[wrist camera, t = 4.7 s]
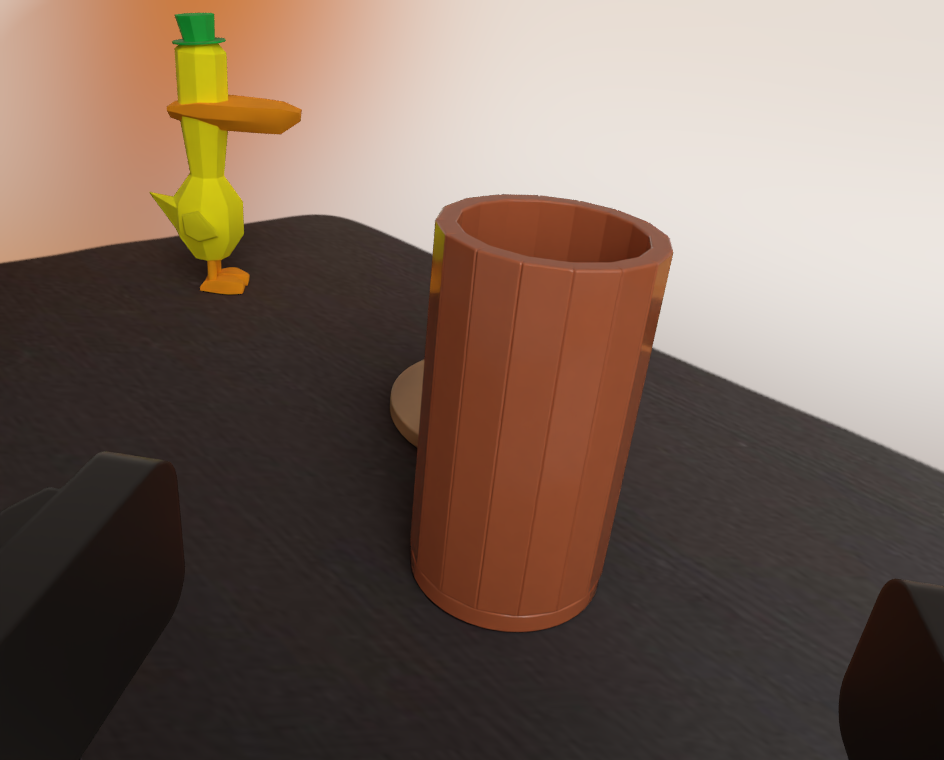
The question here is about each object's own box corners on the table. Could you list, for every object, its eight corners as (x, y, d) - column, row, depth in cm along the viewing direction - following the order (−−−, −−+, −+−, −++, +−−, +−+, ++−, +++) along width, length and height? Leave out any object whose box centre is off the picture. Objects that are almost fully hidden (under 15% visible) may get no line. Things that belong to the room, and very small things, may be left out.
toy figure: (304, 278, 41) (305, 18, 35) (295, 306, 38) (294, 26, 32) (166, 268, 40) (144, 3, 35) (145, 296, 37) (118, 8, 32)
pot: (391, 613, 21) (416, 247, 17) (429, 494, 26) (456, 183, 21) (597, 649, 21) (682, 285, 16) (597, 521, 26) (663, 211, 21)
